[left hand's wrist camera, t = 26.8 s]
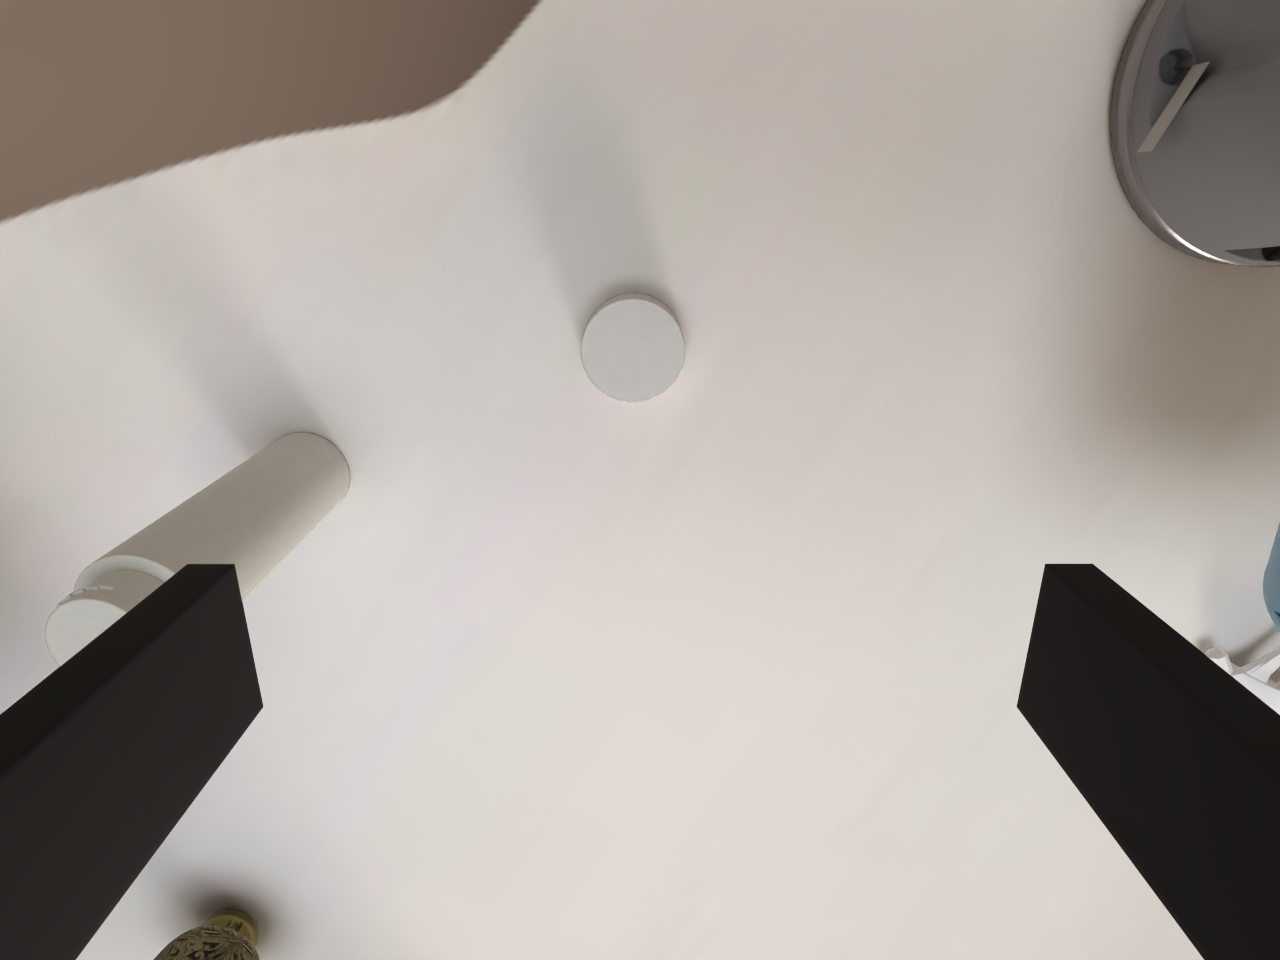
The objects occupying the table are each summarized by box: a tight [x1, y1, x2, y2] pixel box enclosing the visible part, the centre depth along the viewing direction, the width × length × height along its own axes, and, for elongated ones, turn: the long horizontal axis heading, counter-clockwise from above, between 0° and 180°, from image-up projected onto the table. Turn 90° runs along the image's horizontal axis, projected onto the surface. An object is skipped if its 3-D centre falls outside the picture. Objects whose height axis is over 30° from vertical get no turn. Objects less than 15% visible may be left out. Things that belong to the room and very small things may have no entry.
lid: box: [581, 293, 685, 402], centre depth 37 cm, size 5×5×2 cm
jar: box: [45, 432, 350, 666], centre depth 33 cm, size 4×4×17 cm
